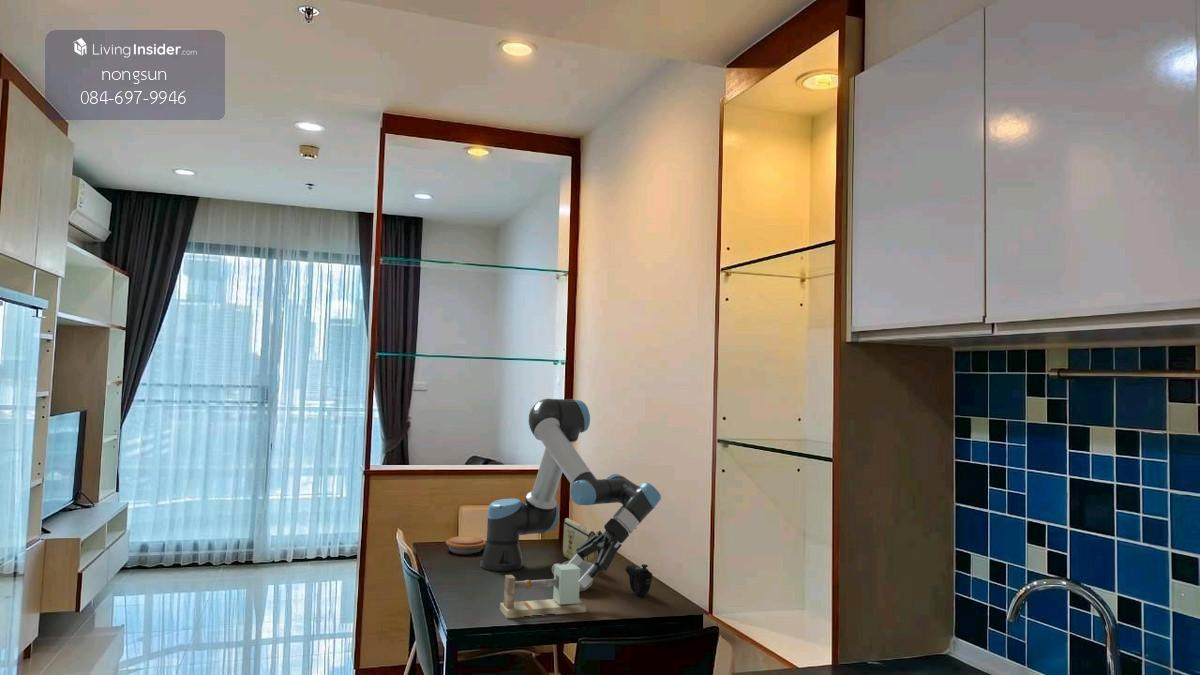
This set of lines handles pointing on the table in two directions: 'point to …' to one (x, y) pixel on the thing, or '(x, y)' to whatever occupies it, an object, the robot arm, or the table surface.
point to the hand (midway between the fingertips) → (572, 578)
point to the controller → (639, 579)
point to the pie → (465, 544)
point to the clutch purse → (575, 539)
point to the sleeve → (567, 584)
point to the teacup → (583, 567)
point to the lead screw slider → (536, 606)
